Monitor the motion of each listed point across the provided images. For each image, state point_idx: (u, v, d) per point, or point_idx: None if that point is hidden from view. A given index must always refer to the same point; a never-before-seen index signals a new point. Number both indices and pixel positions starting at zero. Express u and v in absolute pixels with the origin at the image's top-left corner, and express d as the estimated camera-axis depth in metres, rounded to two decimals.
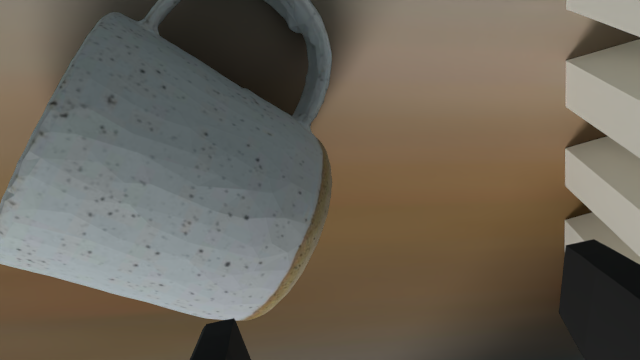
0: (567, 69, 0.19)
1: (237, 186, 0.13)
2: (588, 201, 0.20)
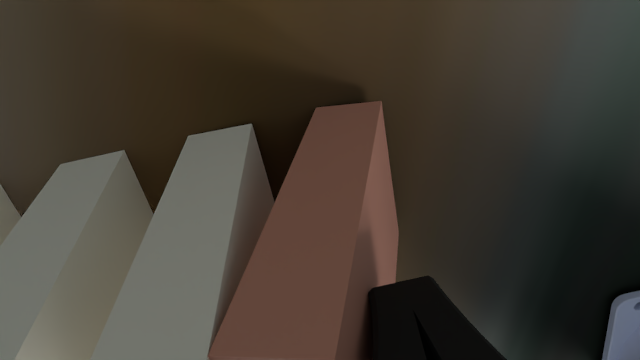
0: None
1: None
2: None
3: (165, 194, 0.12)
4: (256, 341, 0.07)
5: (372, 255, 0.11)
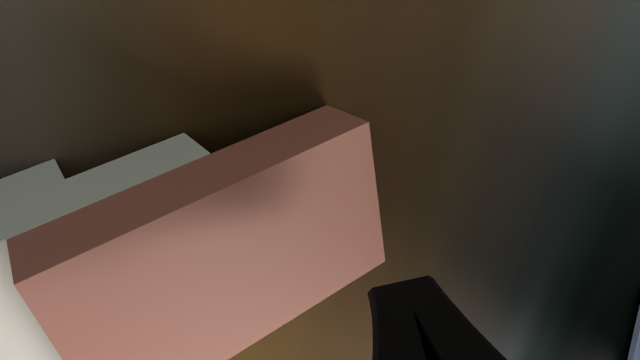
0: None
1: None
2: None
3: (71, 178, 0.13)
4: (22, 248, 0.11)
5: (214, 250, 0.12)
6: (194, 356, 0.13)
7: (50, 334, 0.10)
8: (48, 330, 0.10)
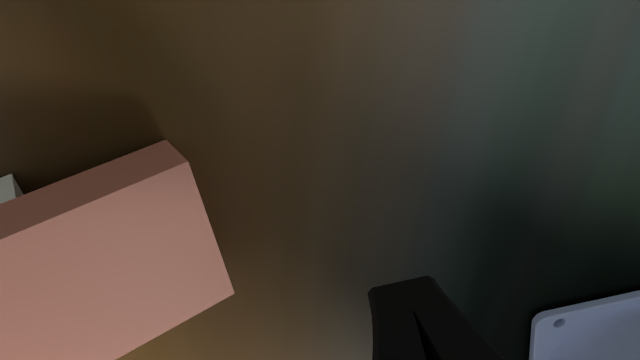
0: None
1: None
2: None
3: None
4: None
5: (12, 293, 0.12)
6: None
7: None
8: None
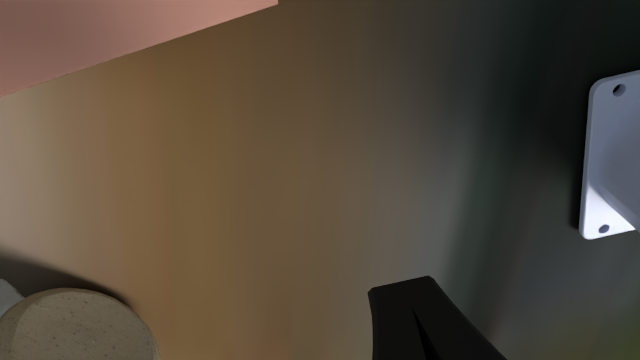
0: None
1: None
2: None
3: None
4: None
5: None
6: (54, 46, 0.13)
7: None
8: None
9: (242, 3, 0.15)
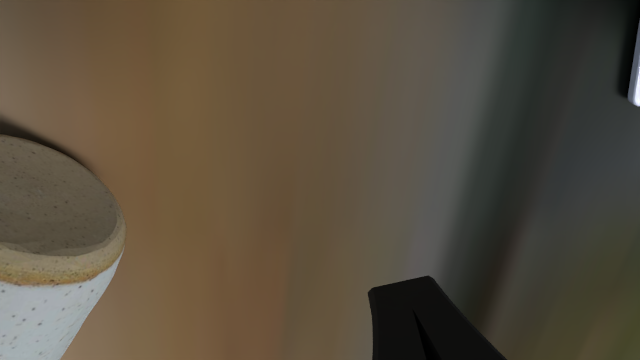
0: None
1: None
2: None
3: None
4: None
5: None
6: None
7: None
8: None
9: None
